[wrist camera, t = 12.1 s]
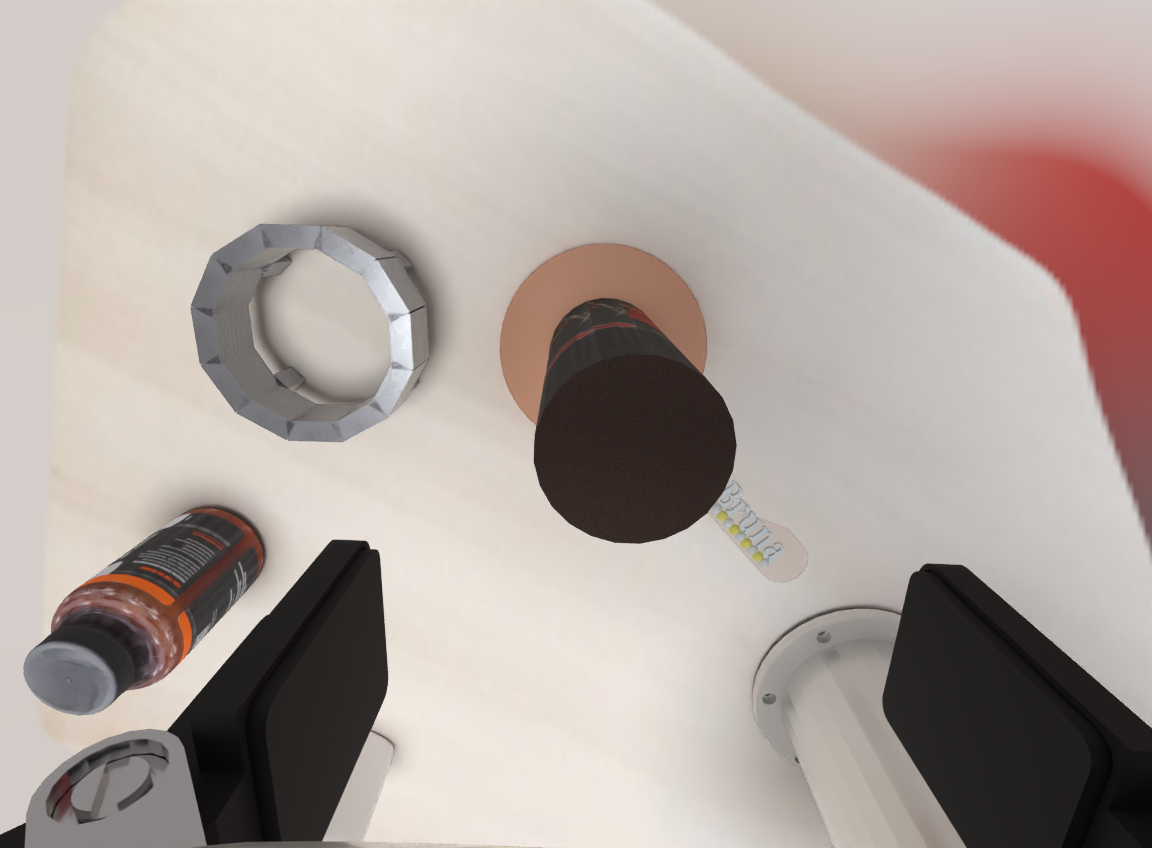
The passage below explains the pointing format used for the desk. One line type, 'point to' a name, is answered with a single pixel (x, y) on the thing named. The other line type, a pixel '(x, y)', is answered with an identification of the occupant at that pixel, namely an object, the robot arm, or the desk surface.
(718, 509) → the keychain
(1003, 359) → the desk surface
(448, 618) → the desk surface
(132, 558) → the supplement bottle
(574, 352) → the deodorant
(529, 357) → the coaster
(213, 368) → the ring stand
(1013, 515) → the desk surface
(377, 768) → the eye dropper bottle
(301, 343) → the desk surface
